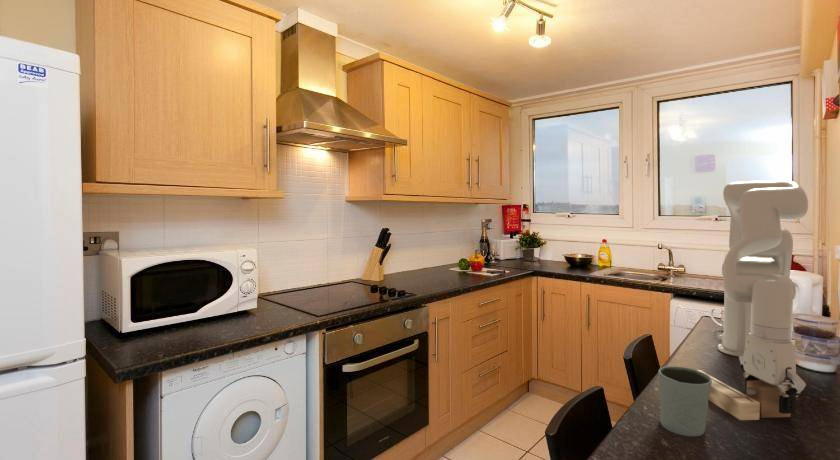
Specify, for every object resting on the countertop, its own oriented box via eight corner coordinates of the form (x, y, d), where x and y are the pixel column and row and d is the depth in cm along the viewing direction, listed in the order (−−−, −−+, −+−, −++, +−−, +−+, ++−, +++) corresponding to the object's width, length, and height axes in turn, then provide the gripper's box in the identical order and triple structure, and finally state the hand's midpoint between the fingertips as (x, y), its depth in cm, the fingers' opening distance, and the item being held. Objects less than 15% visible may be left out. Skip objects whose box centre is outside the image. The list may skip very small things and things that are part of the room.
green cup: (662, 412, 105) (663, 362, 104) (713, 425, 98) (714, 372, 98) (653, 429, 97) (653, 376, 96) (707, 444, 90) (708, 387, 90)
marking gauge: (740, 409, 106) (740, 380, 105) (780, 407, 106) (780, 379, 106) (755, 418, 101) (755, 388, 101) (796, 416, 102) (797, 387, 101)
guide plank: (683, 384, 120) (684, 370, 120) (699, 384, 120) (700, 369, 120) (740, 420, 100) (740, 402, 100) (759, 419, 100) (759, 402, 100)
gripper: (727, 322, 111) (726, 388, 112) (787, 343, 94) (785, 421, 95) (756, 321, 111) (754, 387, 112) (821, 343, 94) (818, 420, 95)
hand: (768, 403), depth 104 cm, fingers open, 9 cm apart
